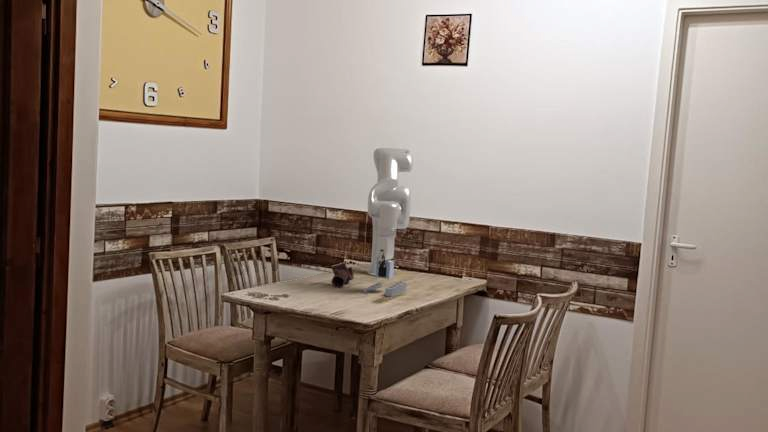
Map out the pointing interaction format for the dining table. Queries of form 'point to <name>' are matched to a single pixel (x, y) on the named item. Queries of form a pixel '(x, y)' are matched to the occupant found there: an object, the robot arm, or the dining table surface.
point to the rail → (390, 290)
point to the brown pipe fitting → (341, 275)
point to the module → (388, 269)
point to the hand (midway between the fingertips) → (384, 275)
